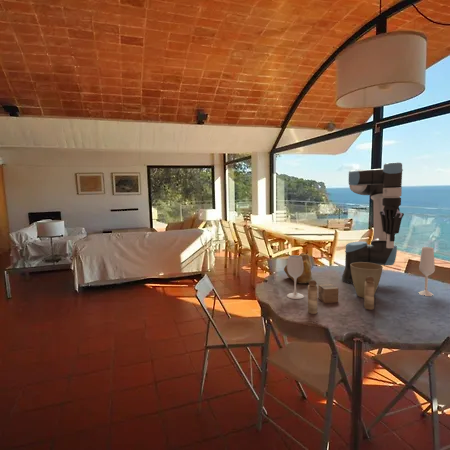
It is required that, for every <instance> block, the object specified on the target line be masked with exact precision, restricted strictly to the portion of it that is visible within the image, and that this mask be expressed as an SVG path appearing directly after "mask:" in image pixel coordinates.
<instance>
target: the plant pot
mask: <svg viewBox="0 0 450 450" xmlns="http://www.w3.org/2000/svg"><path fill="white" fill-rule="evenodd" d="M350 267H351V274H352V279H353V284H352V285H353V286H354V290H355V293H356V295H357V297H359V298H363V299H364V295H365V281H366V277H368V276H371V277H373V279H374V283H375V285H374V295H375V294H376V291H377V289H378V287H379V284H380V281H381V277H382V273H383V268H384V267H383V265H378V264H374V263H367V262H355V263H351V264H350Z"/></svg>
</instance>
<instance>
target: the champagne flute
mask: <svg viewBox="0 0 450 450" xmlns="http://www.w3.org/2000/svg"><path fill="white" fill-rule="evenodd" d="M435 264H436V263H435V251H434V247H432V246H422V247H421V254H420V259H419V266H418V269H419V272H421V274H422V275H424V290H421V291H418V292H417V294H418V293H419V294H418V295H421V296H424V295H425V296H424V297H433V296H434V294H433V293H432V292H430V291H429V290H428V284H429V283H428V282H429V280H428V279H429V276H431V275H433V273H434V272H435V270H436V265H435ZM432 295H433V296H432Z"/></svg>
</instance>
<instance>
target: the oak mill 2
mask: <svg viewBox="0 0 450 450" xmlns="http://www.w3.org/2000/svg"><path fill="white" fill-rule="evenodd" d="M374 285H375V283H374V279H373V277H371V276H368V277H366V281H365V295H364V298H363V299H364V300H363V301H364V303H363V305H364V307H363V308H364V310H365V309H366V310H369V311H370V310H374V309H375V294H374Z"/></svg>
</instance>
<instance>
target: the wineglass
mask: <svg viewBox="0 0 450 450" xmlns="http://www.w3.org/2000/svg"><path fill="white" fill-rule="evenodd" d="M286 265H287V271H288V273H289V275H290V276H292V277H293V278H294V281H293V283H294V286H293V292H290V293H288V294H286V297H287V298H288V299H292V300H301V299H303V298H305V295H304V294H302V293H299V292H297V283H296V280H297V278H298V277H299V276H301V275H302V273H303V260H302V257H301V256H299V255H288V258H287V262H286Z"/></svg>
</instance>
